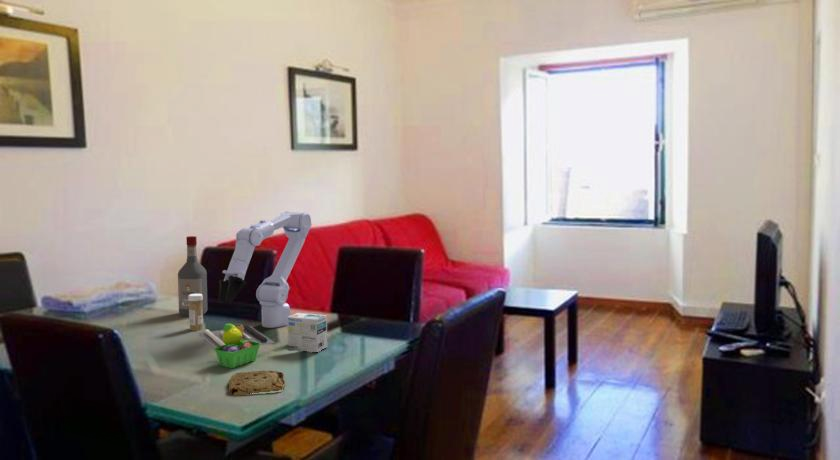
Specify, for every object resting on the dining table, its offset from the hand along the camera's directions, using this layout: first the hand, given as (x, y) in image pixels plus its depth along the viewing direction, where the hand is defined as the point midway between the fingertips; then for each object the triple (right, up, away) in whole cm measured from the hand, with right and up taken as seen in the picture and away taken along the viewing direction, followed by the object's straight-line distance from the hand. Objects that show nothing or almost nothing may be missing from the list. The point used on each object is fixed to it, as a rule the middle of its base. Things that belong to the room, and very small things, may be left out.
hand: (225, 301), depth 198 cm
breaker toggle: (+2, -12, +4) cm, 13 cm away
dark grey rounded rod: (+7, -12, +8) cm, 16 cm away
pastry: (+20, -18, -35) cm, 44 cm away
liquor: (-26, -10, +43) cm, 51 cm away
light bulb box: (+27, -15, -2) cm, 31 cm away
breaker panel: (+2, -14, +4) cm, 15 cm away
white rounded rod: (-3, -13, +1) cm, 13 cm away
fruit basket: (+8, -16, -16) cm, 24 cm away
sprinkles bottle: (-15, -13, +15) cm, 25 cm away
